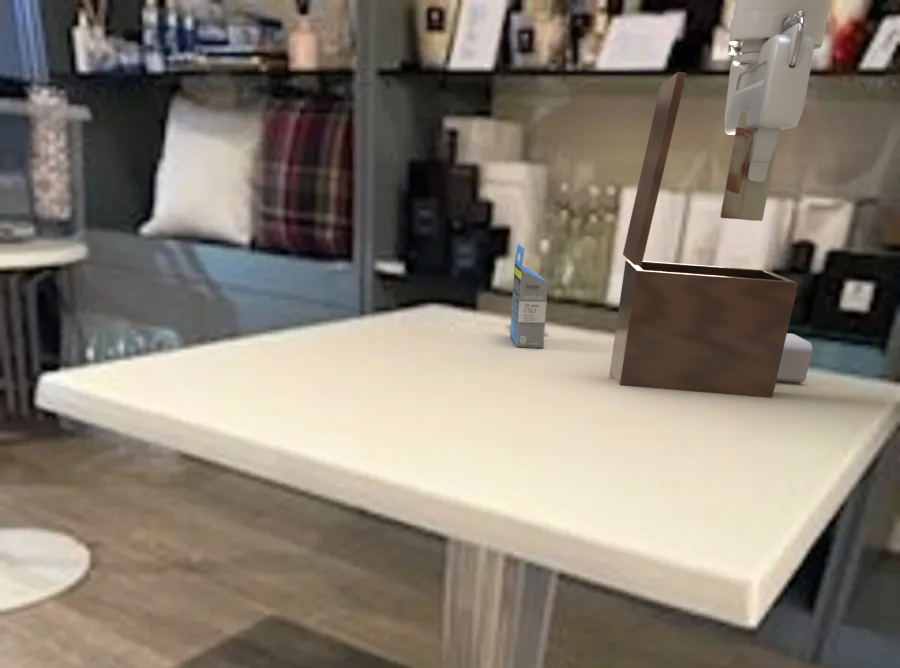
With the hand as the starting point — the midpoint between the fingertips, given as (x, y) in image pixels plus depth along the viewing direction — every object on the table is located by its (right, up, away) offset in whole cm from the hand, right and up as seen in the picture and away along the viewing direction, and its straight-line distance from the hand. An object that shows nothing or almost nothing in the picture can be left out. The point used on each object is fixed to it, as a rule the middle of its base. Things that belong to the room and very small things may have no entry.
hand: (747, 181), depth 92 cm
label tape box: (-21, -9, +28) cm, 36 cm away
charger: (+4, -16, +18) cm, 24 cm away
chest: (-5, -21, +5) cm, 22 cm away
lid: (-11, -1, -4) cm, 12 cm away
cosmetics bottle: (0, -3, +2) cm, 4 cm away
